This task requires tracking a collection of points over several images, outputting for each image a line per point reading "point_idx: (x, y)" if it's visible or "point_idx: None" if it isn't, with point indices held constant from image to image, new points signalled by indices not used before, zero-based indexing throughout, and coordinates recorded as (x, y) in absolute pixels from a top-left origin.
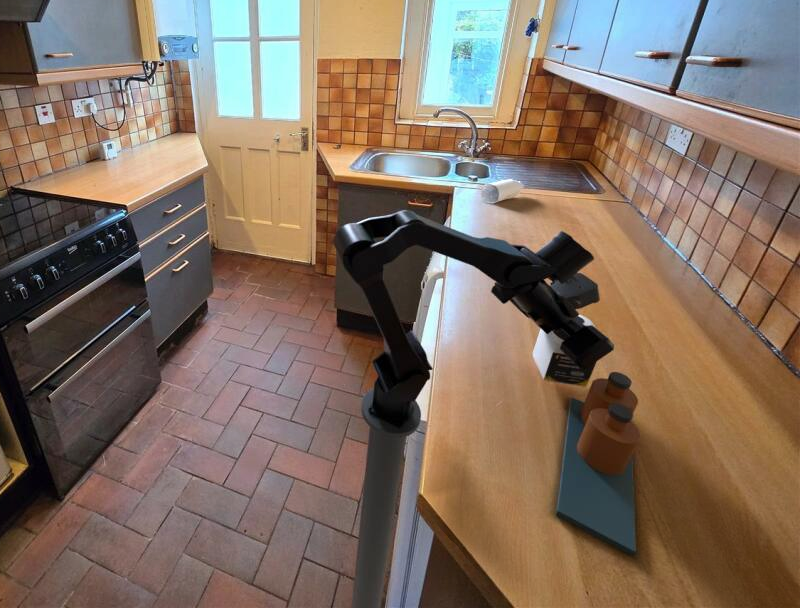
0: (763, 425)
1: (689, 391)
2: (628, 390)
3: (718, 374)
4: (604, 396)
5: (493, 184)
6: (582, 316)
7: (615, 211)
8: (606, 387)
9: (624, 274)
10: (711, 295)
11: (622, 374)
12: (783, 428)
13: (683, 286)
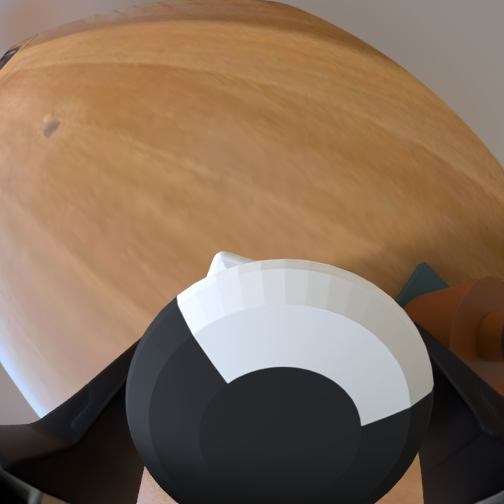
0: (385, 70)
1: (326, 90)
2: (488, 286)
3: (287, 42)
4: (495, 378)
5: None
6: (231, 325)
7: (35, 41)
8: (488, 360)
9: (83, 51)
10: (155, 3)
11: None
12: (385, 59)
13: (131, 15)
